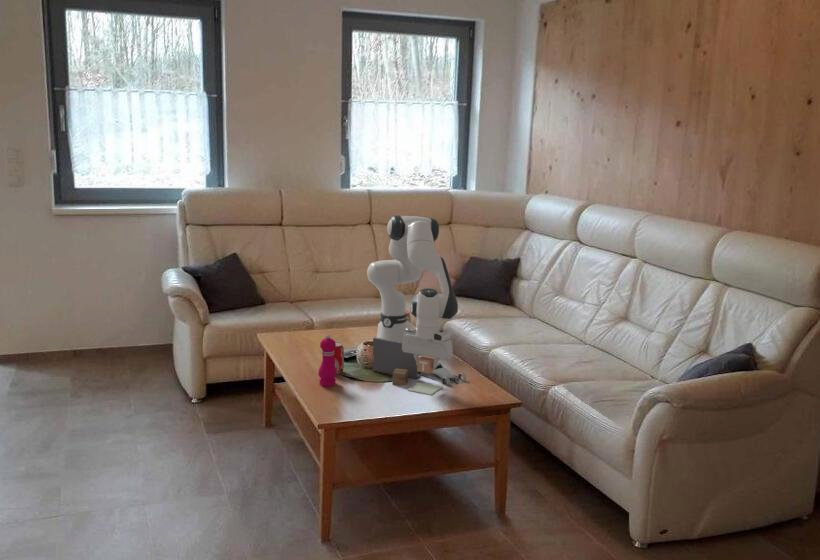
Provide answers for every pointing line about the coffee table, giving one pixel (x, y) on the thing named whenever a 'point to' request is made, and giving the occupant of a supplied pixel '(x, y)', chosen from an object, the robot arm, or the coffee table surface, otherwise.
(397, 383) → the walnut block
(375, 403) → the coffee table surface
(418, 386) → the felt mat
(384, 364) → the screen
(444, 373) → the car model
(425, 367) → the letter block
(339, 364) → the soda can
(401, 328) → the robot arm
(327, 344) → the pepper mill
